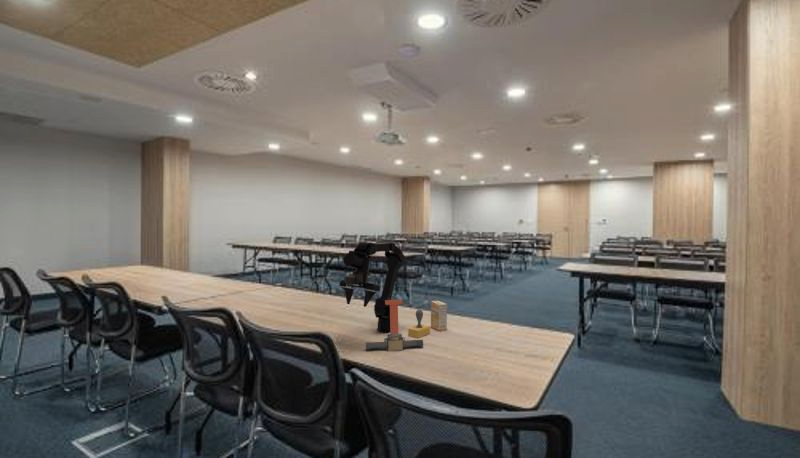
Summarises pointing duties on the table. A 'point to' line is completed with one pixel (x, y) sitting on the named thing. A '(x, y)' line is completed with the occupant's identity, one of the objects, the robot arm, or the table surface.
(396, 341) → the pipe valve
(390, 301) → the lever
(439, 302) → the supplement box
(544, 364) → the table surface
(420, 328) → the rubber stamp
